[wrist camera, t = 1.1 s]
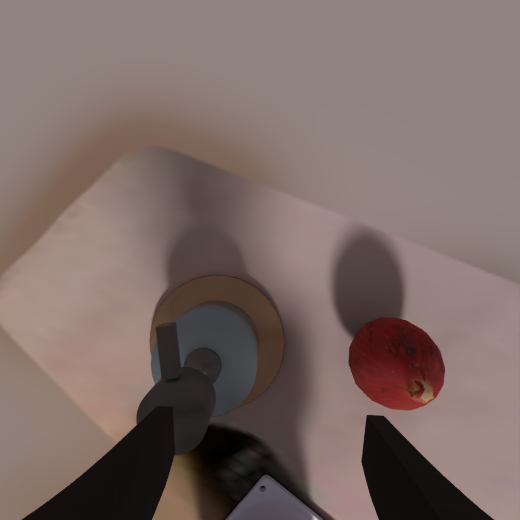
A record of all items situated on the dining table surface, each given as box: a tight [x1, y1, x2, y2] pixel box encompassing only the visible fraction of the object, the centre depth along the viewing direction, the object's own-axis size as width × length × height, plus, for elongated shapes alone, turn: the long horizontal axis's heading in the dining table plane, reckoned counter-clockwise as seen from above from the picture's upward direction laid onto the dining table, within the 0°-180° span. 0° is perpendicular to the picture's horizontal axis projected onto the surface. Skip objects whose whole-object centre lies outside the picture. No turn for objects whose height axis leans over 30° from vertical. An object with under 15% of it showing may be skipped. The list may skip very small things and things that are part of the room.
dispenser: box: [150, 275, 284, 417], centre depth 21 cm, size 11×11×6 cm
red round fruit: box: [349, 317, 445, 410], centre depth 19 cm, size 6×6×8 cm
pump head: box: [137, 322, 216, 455], centre depth 14 cm, size 5×5×3 cm
